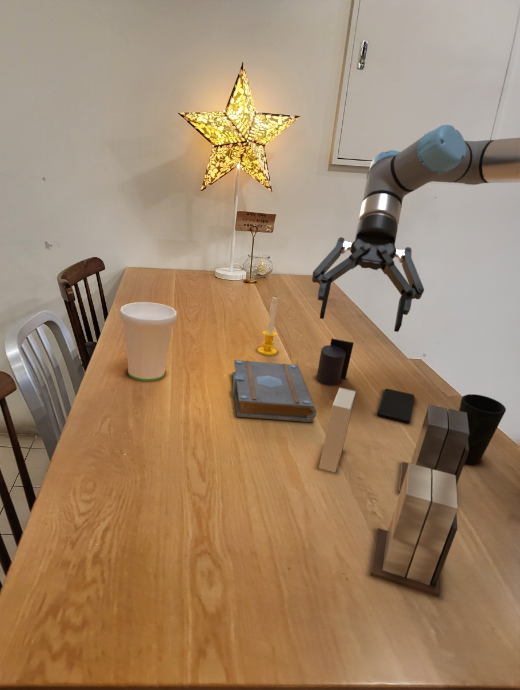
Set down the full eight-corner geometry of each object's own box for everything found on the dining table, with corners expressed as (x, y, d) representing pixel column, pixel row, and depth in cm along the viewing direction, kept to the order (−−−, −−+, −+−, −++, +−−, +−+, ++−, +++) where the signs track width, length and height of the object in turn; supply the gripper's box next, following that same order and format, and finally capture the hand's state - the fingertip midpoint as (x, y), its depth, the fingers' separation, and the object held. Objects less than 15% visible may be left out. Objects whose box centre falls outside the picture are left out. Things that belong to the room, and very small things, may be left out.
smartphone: (377, 413, 117) (385, 387, 129) (376, 416, 117) (384, 390, 130) (410, 421, 115) (414, 394, 127) (409, 424, 115) (413, 397, 128)
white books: (438, 550, 80) (466, 474, 74) (438, 598, 71) (470, 516, 65) (376, 532, 82) (399, 456, 76) (370, 576, 74) (394, 495, 68)
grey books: (451, 478, 98) (475, 412, 92) (453, 509, 90) (479, 438, 83) (401, 464, 100) (420, 399, 94) (398, 494, 92) (419, 424, 86)
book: (314, 424, 111) (318, 402, 109) (234, 418, 110) (237, 396, 108) (298, 381, 130) (301, 362, 128) (230, 375, 129) (232, 356, 127)
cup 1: (168, 362, 132) (172, 302, 125) (177, 385, 122) (181, 320, 115) (117, 363, 129) (117, 301, 122) (121, 385, 118) (122, 319, 111)
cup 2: (456, 469, 101) (476, 413, 96) (436, 447, 108) (453, 393, 102) (493, 468, 102) (515, 413, 97) (470, 447, 109) (489, 394, 104)
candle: (268, 347, 149) (276, 292, 142) (280, 354, 145) (289, 297, 138) (253, 349, 146) (261, 293, 139) (265, 356, 142) (273, 299, 135)
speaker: (325, 370, 137) (333, 334, 131) (346, 379, 134) (355, 342, 128) (310, 381, 132) (318, 344, 126) (331, 390, 129) (340, 352, 123)
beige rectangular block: (342, 451, 103) (356, 390, 97) (335, 473, 96) (350, 409, 90) (326, 447, 103) (339, 386, 97) (318, 468, 96) (332, 404, 91)
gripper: (439, 246, 106) (424, 342, 99) (312, 228, 110) (291, 319, 104) (450, 221, 98) (436, 324, 92) (314, 203, 103) (292, 299, 97)
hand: (359, 321), depth 98 cm, fingers open, 13 cm apart
